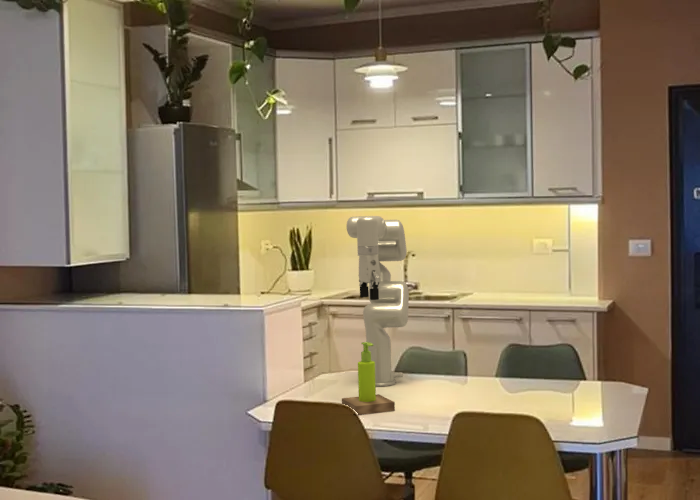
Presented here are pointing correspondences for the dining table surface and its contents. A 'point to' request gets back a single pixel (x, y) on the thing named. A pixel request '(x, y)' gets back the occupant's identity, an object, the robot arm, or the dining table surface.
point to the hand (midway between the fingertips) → (369, 298)
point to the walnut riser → (370, 405)
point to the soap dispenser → (366, 375)
